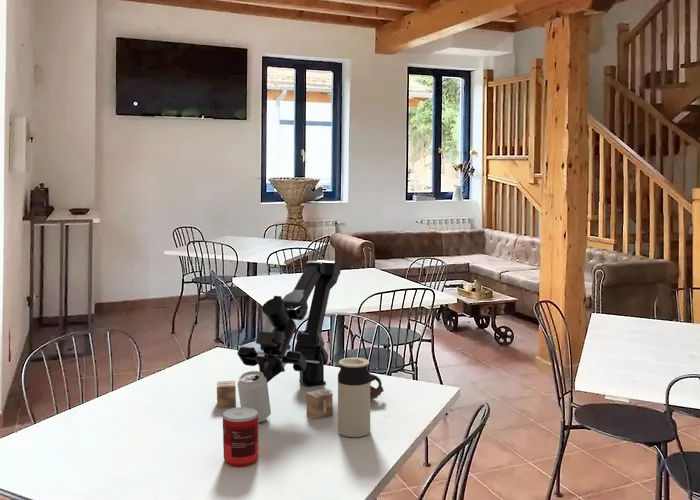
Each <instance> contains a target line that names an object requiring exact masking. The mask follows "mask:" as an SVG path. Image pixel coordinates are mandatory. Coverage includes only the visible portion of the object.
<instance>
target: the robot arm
mask: <svg viewBox="0 0 700 500" xmlns="http://www.w3.org/2000/svg"><path fill="white" fill-rule="evenodd" d="M341 270H342V269H341V265H339V264H338V262H337V261H336V260H320V259H319V260H309V261H307V262H306V263H305V268H304V270H303V272H302V274H301V275H300V277H299V279H298V281H297V283H296V284H295V287H294V288H293V290H292V291H291V292H289V293H287V294H285V296H284V297H282V295H274V296H273V298H271V299H270V298H269V300H266V302H265V303H263V305H262V307H261V308H262V312H263V314H264V316H265V318H266V319H267V321H268V324H270V326H271V327H273V328H272V331H271V332H270V331H260V330H259V331H257V335H256V339H255V340H256V341H255V344H256V345H260V347H259V349H260V350H261V351H256V348H255V347H254V346H244V345H243V346H242V345H241V346H240V347H239V348H238V350H237V352H236V353H237V356H238V357H239V359H240V361H241V362H242V364H243V365H244V366H249V367H256V366H258V368H259V369H258V371H260V372H262V373H263V375H264V377H266V379H267V384H268V383H270V381H271V380H273V379H274V378H275V377H277V376H278V375H280V373H284V372H285V371H286V368H285V367H286V365H287V364H290V365H292V369H293V370H294V371H295V372H299V380H298V381H299V382H300V383H301V384H302V385H304V386H305V387H312V386H317V385H319V386H320V385H326V383H327V382H326V381H325V377H324V376H325V375H324V372H325V371H324V369H325V368H324V366H327V365H328V361H329V354H328V352H327V350H326V349H325V340H324V339H323V335H322V331H323V326H324V322H325V316H326V311H327V306H328V302H329V296H330V291H331V289H333V287H334V286H335V285H336V284H337V283H338V280H339V276H340V274H341ZM312 292H313V294H312ZM311 295H312V299H311V303H310V306H309V305H308V300H309V298H310V296H311ZM309 307H310V308H309ZM308 310H309V313H308ZM307 313H308V316H307V322H306V326H305V330H304V331H303V332H299V333H298V328H297V325H296V322H295V321H303V320H304V318H305V317H306V315H307ZM294 334H298V335H297V338H296V339H297V340H296V343H295V345H294V350H293V351H292V350H290V349H291V345H290V343H291V341H292V339H293V338H292V337H293V336H294ZM288 350H289V351H288Z"/></svg>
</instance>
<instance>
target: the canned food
mask: <svg viewBox="0 0 700 500" xmlns="http://www.w3.org/2000/svg"><path fill="white" fill-rule="evenodd" d="M222 441H223V442H222V443H223V459H224V463H225V464H226V465H228V466H229V467H233V468H245V467H250V466H252V465H254V464H256V463H257V462H258V461H259V423H258V413H257V411H256V410H255V409H252V408H247V407H241V406H240V407H237V406H236V407H231V408H229V409H226V410H224V411H223V413H222Z"/></svg>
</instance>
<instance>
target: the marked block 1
mask: <svg viewBox="0 0 700 500" xmlns="http://www.w3.org/2000/svg"><path fill="white" fill-rule="evenodd" d="M236 386H237V385H236V380H225V381H224V380H222V381H216V401H217V402H216V403H217V409H225V408H226V409H227V408H229V409H230V408H237V395H236V394H237V392H236V391H237V390H236V389H237V388H236Z"/></svg>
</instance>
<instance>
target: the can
mask: <svg viewBox="0 0 700 500" xmlns="http://www.w3.org/2000/svg"><path fill="white" fill-rule="evenodd" d="M238 379H239V380H238V381H237V391H238V398H239V403H240V404H239V405H240V407H247V408H252V409H255V410H256V411H257V413H258V424H259V423H261V422H262V423H263V422H264V421H266V420H267V419H268V417H270V415H271V413H272V412H271V401H270V395H269V386H268V383H267V379H266V377H264V375H263V373H262V372H260V371H259V370H249V371H247V372H244V373H242V374H241V375H240V376H239V378H238Z"/></svg>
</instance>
